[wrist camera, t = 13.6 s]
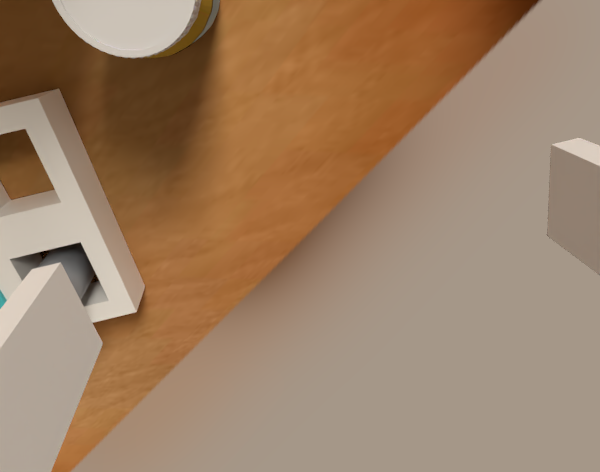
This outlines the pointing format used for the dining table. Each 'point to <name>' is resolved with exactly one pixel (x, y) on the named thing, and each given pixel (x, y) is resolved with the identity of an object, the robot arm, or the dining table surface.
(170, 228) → the dining table surface
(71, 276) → the plug
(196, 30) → the bottle
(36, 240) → the socket block
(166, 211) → the dining table surface
